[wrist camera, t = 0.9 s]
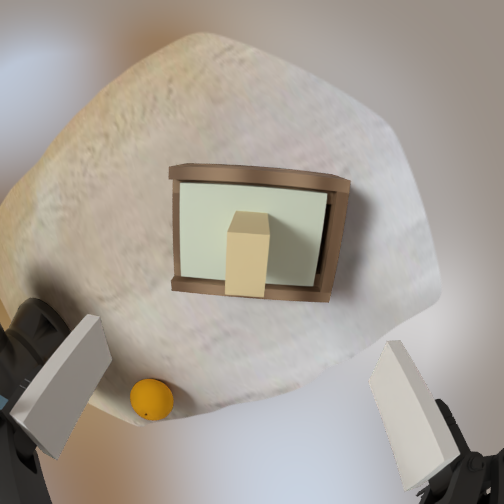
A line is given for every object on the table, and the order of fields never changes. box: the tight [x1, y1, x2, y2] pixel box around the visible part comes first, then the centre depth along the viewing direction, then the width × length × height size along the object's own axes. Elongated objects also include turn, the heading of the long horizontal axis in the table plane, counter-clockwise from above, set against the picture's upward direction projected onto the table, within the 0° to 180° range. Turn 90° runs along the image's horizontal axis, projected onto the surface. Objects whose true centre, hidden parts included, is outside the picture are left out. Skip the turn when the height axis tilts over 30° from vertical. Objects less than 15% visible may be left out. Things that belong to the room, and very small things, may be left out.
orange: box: [130, 379, 174, 420], centre depth 40 cm, size 8×8×8 cm
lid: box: [180, 182, 327, 297], centre depth 24 cm, size 14×10×8 cm
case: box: [169, 163, 351, 303], centre depth 29 cm, size 17×13×6 cm
